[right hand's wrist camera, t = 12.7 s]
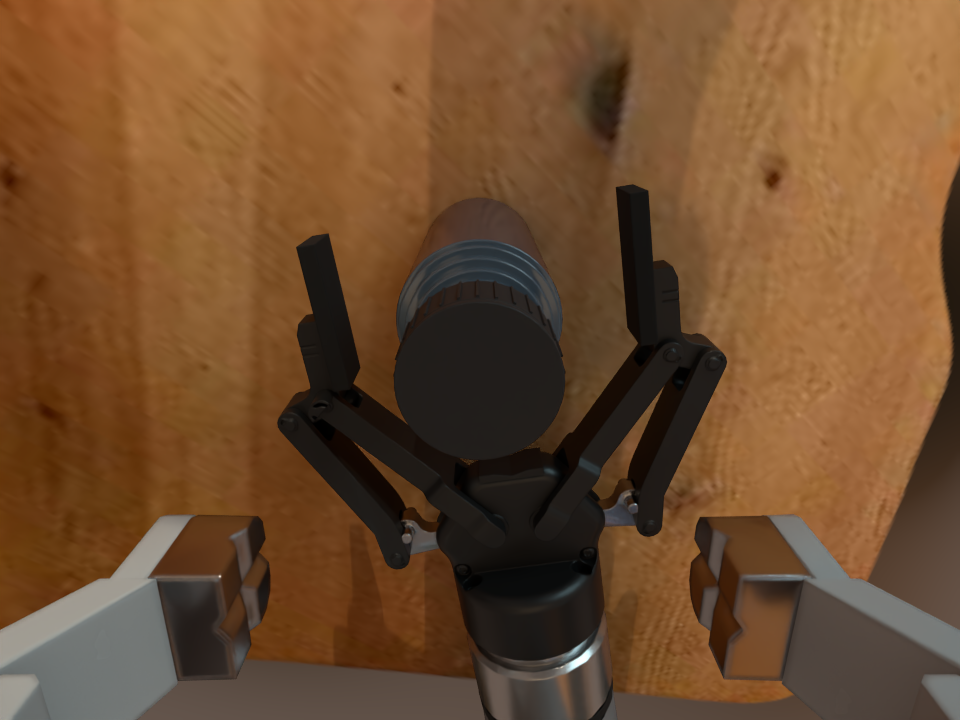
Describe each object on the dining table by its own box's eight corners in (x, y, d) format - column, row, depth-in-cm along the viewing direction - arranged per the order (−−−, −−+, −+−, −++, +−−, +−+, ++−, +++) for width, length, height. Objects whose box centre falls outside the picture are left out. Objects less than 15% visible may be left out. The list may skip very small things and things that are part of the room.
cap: (585, 377, 20) (598, 410, 17) (456, 450, 21) (453, 490, 18) (505, 247, 18) (508, 265, 16) (370, 331, 19) (356, 359, 17)
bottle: (554, 271, 34) (623, 409, 18) (462, 326, 35) (448, 505, 19) (497, 175, 33) (515, 231, 16) (402, 236, 34) (329, 347, 17)
